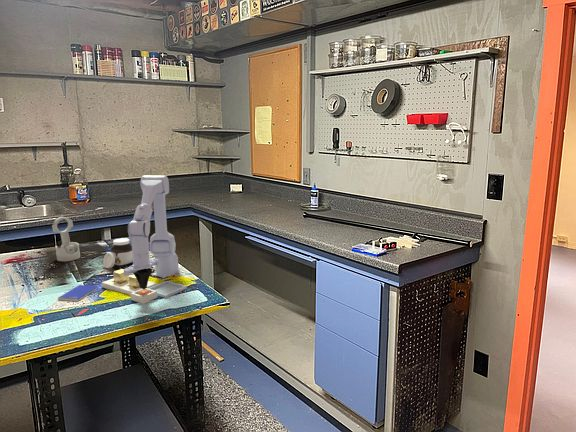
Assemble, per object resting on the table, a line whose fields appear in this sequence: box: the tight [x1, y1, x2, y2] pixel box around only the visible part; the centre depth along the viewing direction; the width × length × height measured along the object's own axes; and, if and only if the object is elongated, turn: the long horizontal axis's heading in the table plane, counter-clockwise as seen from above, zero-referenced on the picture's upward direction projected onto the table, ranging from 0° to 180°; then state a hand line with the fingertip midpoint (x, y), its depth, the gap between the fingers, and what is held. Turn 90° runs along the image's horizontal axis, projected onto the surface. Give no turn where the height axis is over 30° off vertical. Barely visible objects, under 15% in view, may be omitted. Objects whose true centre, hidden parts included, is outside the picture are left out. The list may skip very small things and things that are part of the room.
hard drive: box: [57, 284, 98, 302], centre depth 166 cm, size 2×8×12 cm
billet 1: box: [112, 268, 130, 284], centre depth 174 cm, size 4×4×6 cm
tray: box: [148, 280, 188, 299], centre depth 168 cm, size 11×11×2 cm
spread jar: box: [102, 237, 133, 269], centre depth 196 cm, size 12×11×12 cm
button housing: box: [130, 288, 158, 305], centre depth 160 cm, size 7×7×3 cm
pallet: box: [101, 277, 158, 296], centre depth 172 cm, size 11×19×2 cm, turn 59°
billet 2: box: [129, 274, 140, 289], centre depth 169 cm, size 4×4×6 cm
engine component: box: [51, 216, 81, 262], centre depth 205 cm, size 11×20×10 cm
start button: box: [138, 290, 150, 296], centre depth 160 cm, size 4×4×3 cm
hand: (143, 288), depth 159 cm, fingers closed
